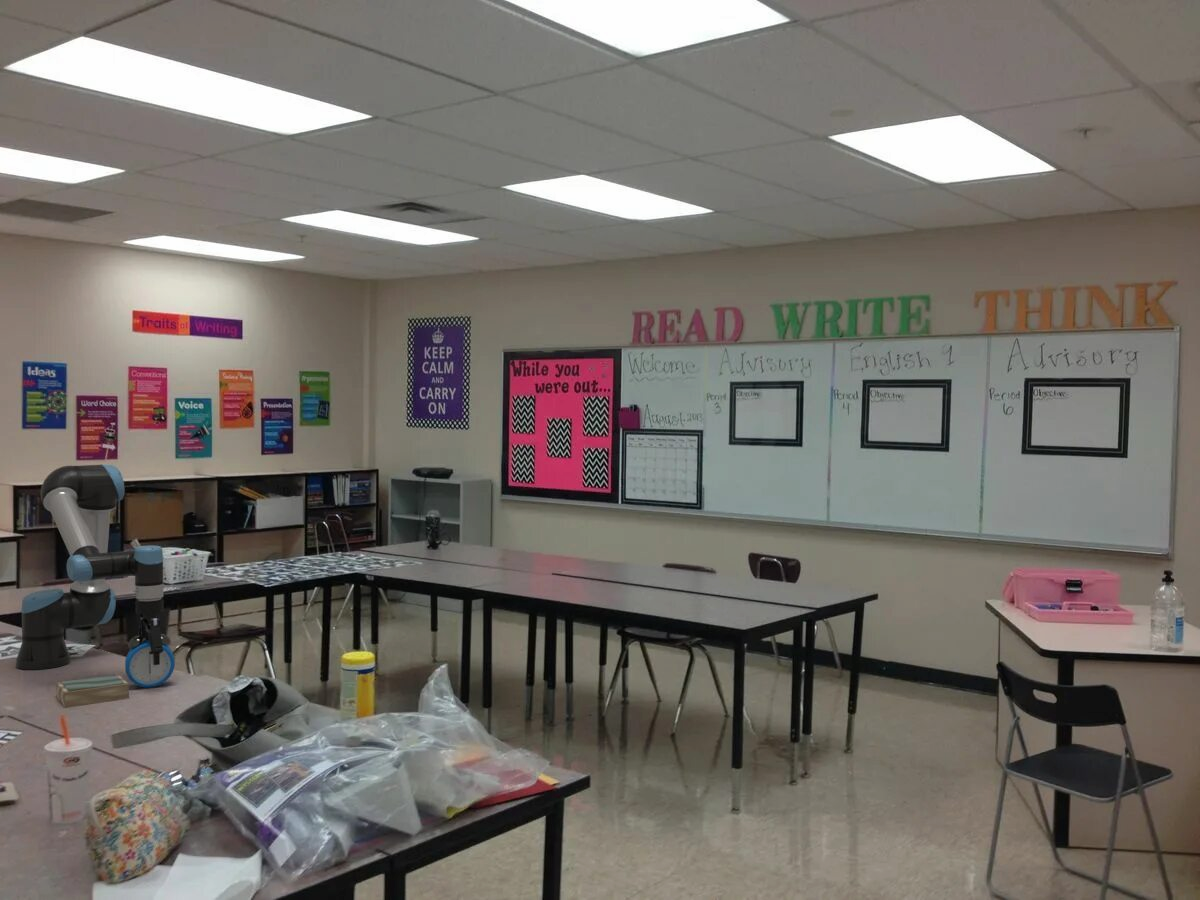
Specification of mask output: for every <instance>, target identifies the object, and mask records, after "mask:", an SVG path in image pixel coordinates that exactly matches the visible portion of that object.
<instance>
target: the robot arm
mask: <svg viewBox="0 0 1200 900" xmlns="http://www.w3.org/2000/svg"><path fill="white" fill-rule="evenodd" d="M124 496H125V482H124V478H123V476H122V473H121V471H120V470H119V468H118V467H117V466H115V465H113V464H111V465H110V464H108V465H107V464H89V465H88V464H87V465H86V464H85V465H65V466H61V467H57V468H56V469H54V470H53V471H52V472H50V473H49V474H48V475H47V476H46V478H45V479H44V480H43V483H42V484H41V488H40V499H41V503H42V505H43V507H44V509H46V510H47V511H49V512H50V513H51V516H52V519H53V520H54V522H55V524H56V527H57V529H58V531H59V533H60V536H61V538H62V540H63V542H64V545H65V546H66V549H67V551H68V554H69V557H68V559H67V560H66V561H67V562H66V572H67V576H68V579H70V580H71V581H73V582H72V583H70V588H69V592H65V591H64V590H63V589H62V588H52V589H50V588H49V589H43V590H39V591H35V592H31V593H29V594H27V595H25V596H24V597H23V598H22V600H21V601H22V602H21V609H20V612H21V637H22V638H21V639H22V640H21V645H20V648H19V650H18V653H17V656H16V661H15V667H16V669H20V670H33V671H34V670H43V669H44V670H45V669H52V668H53V669H54V668H58V667H61V666H62V667H63V666H65V665H68V664H70V662H71V654H70V652H69V651H70V650H69V649H68V647H67V644H66V641H65V639H64V636H65V635H64V633H65V632H64V631H65V630H66V629H74V628H83V627H91V626H93V627H95V626H98V625H103V624H106V623H108V622H109V621H110V620H111V619H112V618H113V616H114V613H115V610H116V604H117V603H116V593H115V591H114V590H113V589H112V588H111V586H110V584H109V583H108V582H107V581H106V579H115V578H117V579H118V578H125V577H127V578H128V577H134V585H135V586H134V587H135V588H133V589H132V590H133V593H135V597H134V598H135V599H136V600H135V602H134V604H135V610H134V611H135V613H136V614H138V615H139V623H138V630H137V636H143V637H144V638H145V639H146V640H149V642H150V647H151V651H149V654H150V671H151V677H153V676H160V675H161V652H163V646H162V638H161V634H162V632H161V631H162V630H161V619H160V617H158V618H157V614H159V613H162V612H163V611H164V599H163V598H164V554H163V548H162V546H159V545H142V546H137V547H135V549H134V548H133V549H126V550H124V551H123V550H122V551H115V552H114V551H113V552H111V551H110V552H108V549H109V548H108V547H109V546H108V545H109V536H110V534H109V533H110V522H111V521H110V520H111V512H113V511H114V510H115V509H116V508H117V502H120V501H122V500H123V499H124ZM148 637H149V638H148Z"/></svg>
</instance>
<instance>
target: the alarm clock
mask: <svg viewBox="0 0 1200 900" xmlns="http://www.w3.org/2000/svg"><path fill="white" fill-rule="evenodd" d="M148 638H149V637H148ZM161 638H162V646H163V652H161V675H160V676H153V677H151V671H150V654H149V651H151V647H150V642H149V640H146V639H145V638H144V637H143V636H138V635H135V636H132V638H130V640H128V641H129V642H128V645H127V646H128V648H129V651H128V653H127V654H126V657H125V661H124V662H125V663H124V665H125V666H124V668H125V673H126V676H127V678H128V679H129V680H130V682H132V683H133V684H134V685H135V686H137V688H136V689H137V690H138V689H140V687H141V688H146V689H148V688H156V687H159V686H160V685H161V686H162V687H164V683H165V682H167V681H168V680H169V679H170V677H171V676H172V674H173V673H174V670H175V663H176V662H175V657H174V653H173V651H172V649H171V648H170V645H171V644H172V643H171V642H172V641H171V638H170V637H169V636H168V635H167V634H166V633H165V634H164V633H161Z"/></svg>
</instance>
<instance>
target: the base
mask: <svg viewBox="0 0 1200 900" xmlns="http://www.w3.org/2000/svg"><path fill="white" fill-rule="evenodd" d="M56 698H57V699H58V700H59V702H60V703H61V705H63V707H64V708H70V707H71V708H72V707H79V706H85V705H92V704H100V703H105V702H106V701H107V702H114V701H120V700H119V699H121V700H127V699H130V684H129V683H128V682H127V681H126V680H125V679H124V678H123V677H122V676H121V675H120V674H119V673H118V674H109V675H101V676H100V675H99V676H94V677H93V676H92V677H87V678H85V677H84V678H79V679H71V680H70V679H69V680H63V681H57V682H56ZM126 698H127V699H126ZM113 700H114V701H113Z"/></svg>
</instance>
